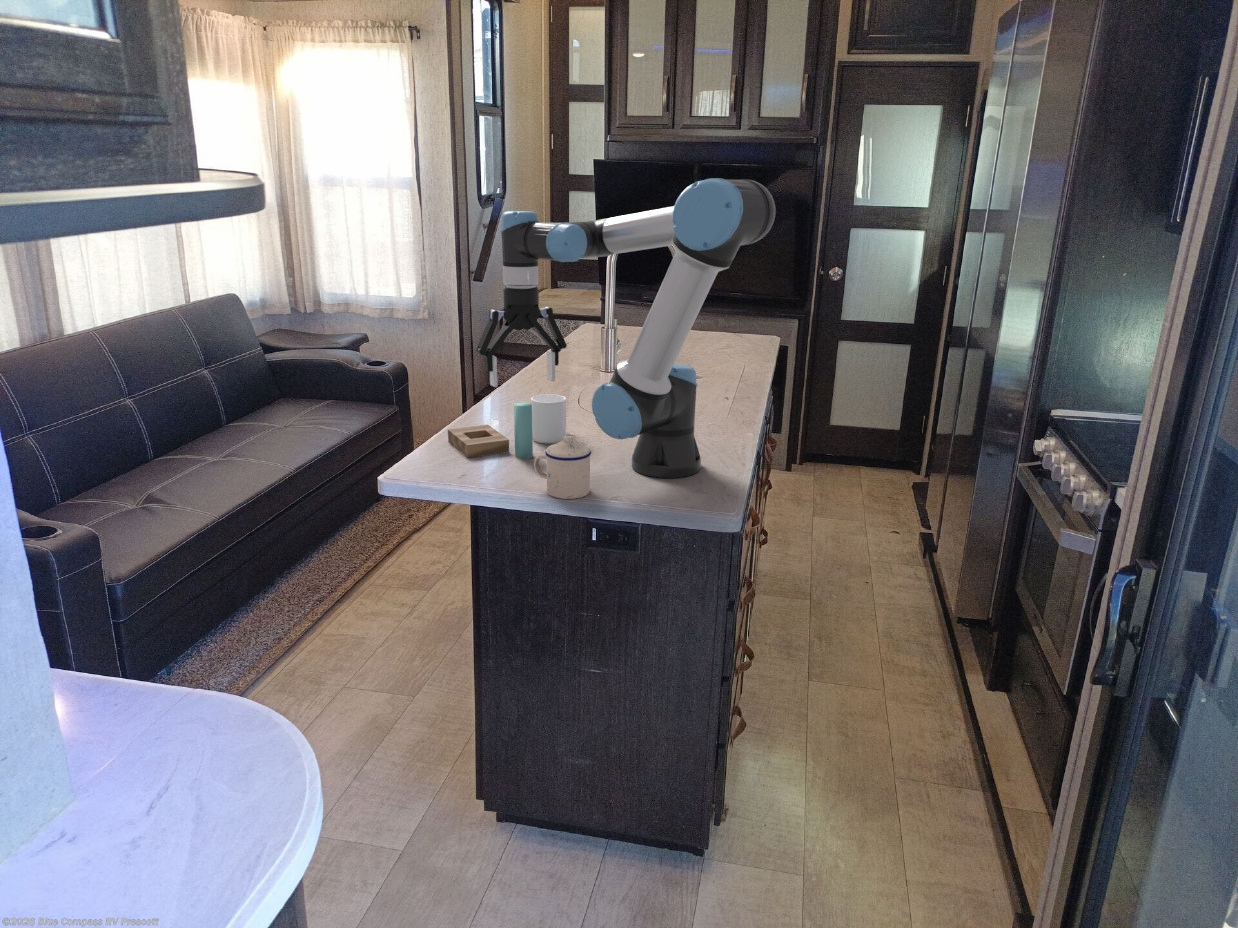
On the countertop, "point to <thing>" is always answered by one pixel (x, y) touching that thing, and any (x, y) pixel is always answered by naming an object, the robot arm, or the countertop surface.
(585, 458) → the teacup with lid
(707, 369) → the countertop surface
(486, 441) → the socket
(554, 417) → the cup
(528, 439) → the peg
